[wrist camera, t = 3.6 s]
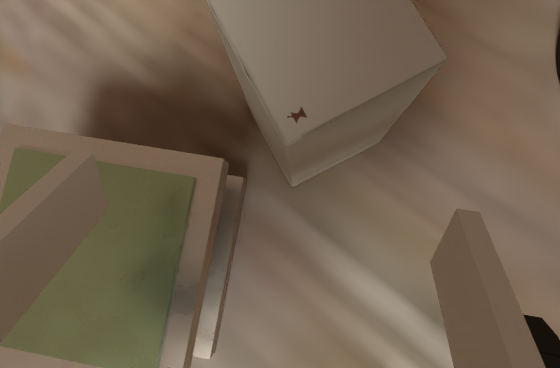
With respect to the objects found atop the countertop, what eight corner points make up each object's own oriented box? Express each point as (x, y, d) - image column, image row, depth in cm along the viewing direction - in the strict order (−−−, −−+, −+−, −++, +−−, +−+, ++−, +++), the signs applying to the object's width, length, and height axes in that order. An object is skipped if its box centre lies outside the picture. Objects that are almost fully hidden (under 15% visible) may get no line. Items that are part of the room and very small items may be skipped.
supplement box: (382, 143, 26) (457, 62, 14) (290, 190, 26) (281, 151, 14) (333, 57, 27) (362, -91, 15) (245, 102, 27) (198, -9, 15)
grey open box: (90, 154, 27) (-1, 121, 19) (246, 180, 26) (222, 157, 18) (51, 318, 26) (-66, 359, 18) (215, 351, 25) (172, 411, 17)
